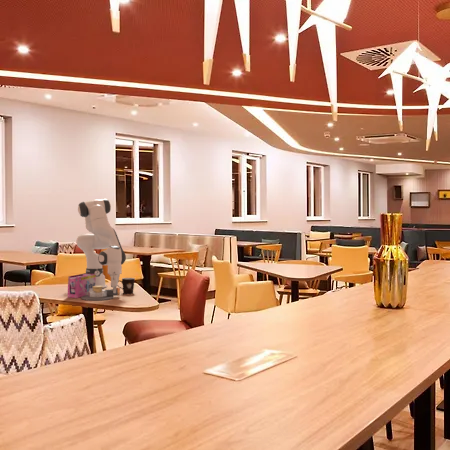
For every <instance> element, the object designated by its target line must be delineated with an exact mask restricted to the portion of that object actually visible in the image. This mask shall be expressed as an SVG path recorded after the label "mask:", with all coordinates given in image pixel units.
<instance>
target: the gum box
mask: <svg viewBox="0 0 450 450" xmlns="http://www.w3.org/2000/svg"><path fill="white" fill-rule="evenodd" d="M93 286H96V274H94V273H86V272H85V273H80V274H76V275H69V276H68V277H67V298H70V299H71V298H72V299H80V298H81V297H82V296H85V295H88V291H90V289H93Z"/></svg>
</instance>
